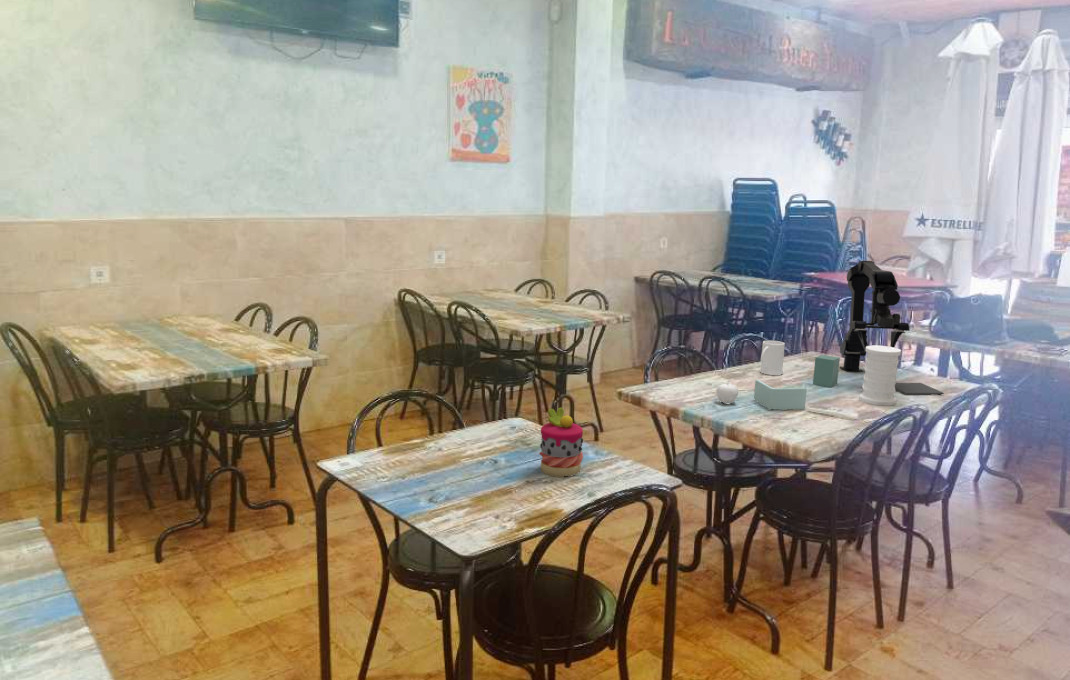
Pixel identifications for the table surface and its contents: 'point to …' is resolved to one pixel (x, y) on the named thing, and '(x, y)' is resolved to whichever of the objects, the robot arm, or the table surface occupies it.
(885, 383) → the decorative container
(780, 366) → the mug
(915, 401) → the table surface
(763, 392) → the right angle wall
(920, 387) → the mat
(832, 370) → the green block
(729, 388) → the plain white apple
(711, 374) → the table surface
